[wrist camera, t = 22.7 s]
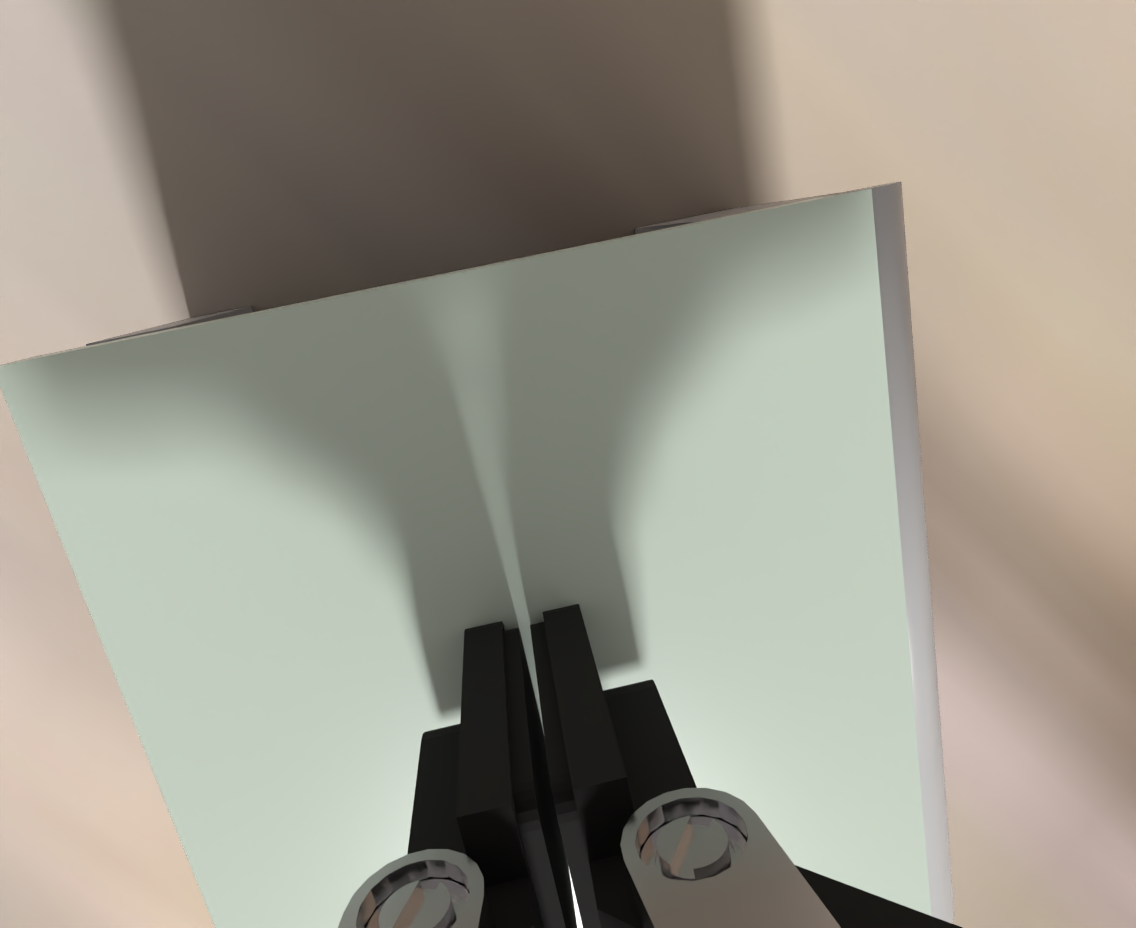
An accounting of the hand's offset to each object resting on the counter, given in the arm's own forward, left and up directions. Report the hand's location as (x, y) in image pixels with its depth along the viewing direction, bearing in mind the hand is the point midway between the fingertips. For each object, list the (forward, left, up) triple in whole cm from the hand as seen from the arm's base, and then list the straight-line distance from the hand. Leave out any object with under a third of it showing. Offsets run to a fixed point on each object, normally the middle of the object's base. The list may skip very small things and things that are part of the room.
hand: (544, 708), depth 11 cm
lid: (0, 0, -1) cm, 1 cm away
